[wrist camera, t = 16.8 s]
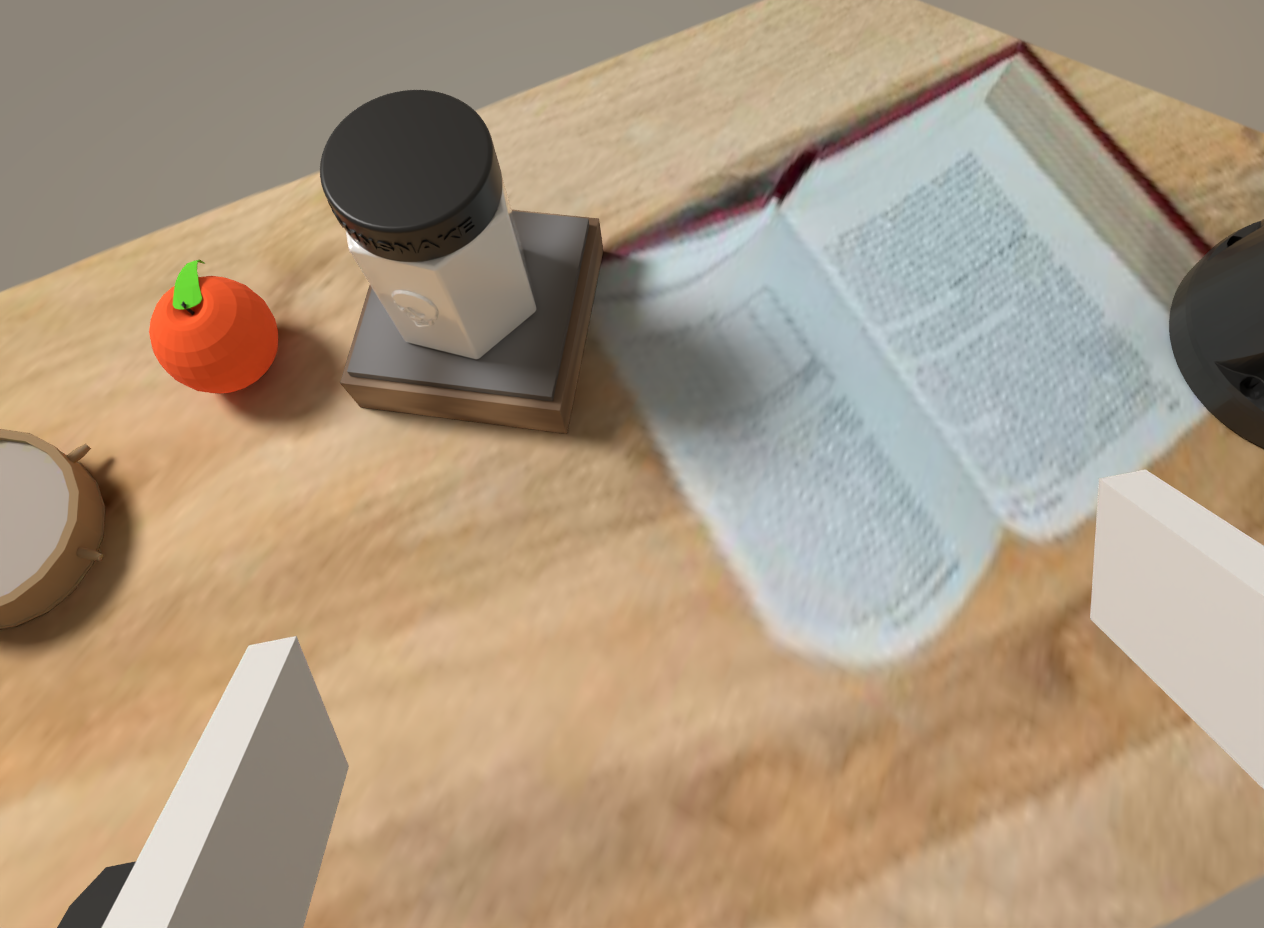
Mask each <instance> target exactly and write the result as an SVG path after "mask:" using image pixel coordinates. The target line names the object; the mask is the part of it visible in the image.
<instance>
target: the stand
mask: <svg viewBox="0 0 1264 928" xmlns="http://www.w3.org/2000/svg"><path fill="white" fill-rule="evenodd" d="M512 213H513V217H514V220H515V223H516V227H517V230H518V234H519V237H520V241H521V244H522V248H523V252H524V256H525V261H526V265H527V269H528V274H529V278H530V282H531V286H532V291H533V295H534V299H535V304H536V311H535V313H533V314H532V315H531V316H530V317H529V318H527V319H526V320H525V321H524V322H523V323H521V324H520V325H519V326H518V327H517V328H515V329H514V330H513V331H512V332H511V333H509V334H508V335H507V336H506V337H505V338H503V339H502V340H501V341H500V342H499V343H497V344H496V345H495V346H494V347H493V348H491V349H490V350H489V351H488V352H487V353H485V354H484V355H483V356H482V357H481V358H479V359H472V358H468V357H464V356H460V355H456V354H452V353H448V352H444V351H440V350H436V349H432V348H428V347H424V346H420V345H416V344H412V343H408V342H406V341H405V340H404V339H403V337H402V336H401V334H400V332H399V331H398V329H397V327H396V326H395V324H394V323H393V321H392V319H391V318H390V316H389V314H388V313H387V311H386V309H385V308H384V306H383V305H382V303H381V301H380V300H379V298H378V296H377V295H376V293H375V292H374V290H373V288H372V287H371V285H369V289H368V292H367V295H366V299H365V302H364V305H363V309H362V312H361V315H360V319H359V322H358V325H357V329H356V332H355V335H354V338H353V342H352V345H351V348H350V352H349V355H348V358H347V362H346V365H345V368H344V372H343V375H342V378H341V382H340V383H341V385H342V386H343V387H344V388H345V389H346V391H347V392H348V393H349V394H350V395H351V397H352V398H353V399H354V400H355V401H356V403H357V404H358V405H359V406H360V407H364V408H371V409H379V410H387V411H395V412H402V413H410V414H418V415H426V416H433V417H441V418H449V419H457V420H465V421H472V422H480V423H488V424H496V425H503V426H511V427H519V428H527V429H534V430H542V431H550V432H558V433H565V434H567V431H568V426H569V421H570V416H571V411H572V406H573V401H574V396H575V391H576V386H577V381H578V376H579V371H580V366H581V361H582V356H583V351H584V346H585V341H586V336H587V331H588V326H589V321H590V315H591V310H592V305H593V300H594V295H595V290H596V285H597V280H598V275H599V270H600V265H601V260H602V255H603V245H602V237H601V230H600V223H599V219H597V218H587V217H578V216H568V215H558V214H548V213H539V212H529V211H519V210H512Z"/></svg>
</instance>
